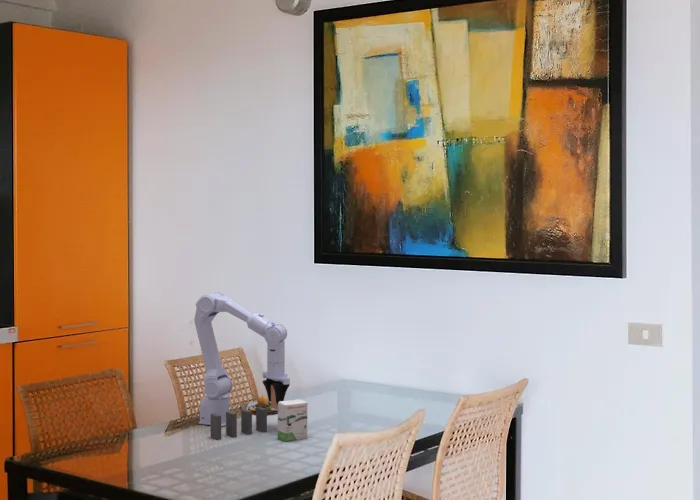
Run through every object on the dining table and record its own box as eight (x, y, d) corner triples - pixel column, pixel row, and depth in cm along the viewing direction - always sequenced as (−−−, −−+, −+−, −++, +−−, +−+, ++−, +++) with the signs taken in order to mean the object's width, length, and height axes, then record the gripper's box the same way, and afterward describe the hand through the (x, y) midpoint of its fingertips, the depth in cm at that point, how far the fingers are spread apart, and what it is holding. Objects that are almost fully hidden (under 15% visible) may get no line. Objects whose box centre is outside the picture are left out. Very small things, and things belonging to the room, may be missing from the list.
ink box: (284, 441, 294) (284, 404, 294) (276, 438, 299) (276, 401, 298) (308, 438, 299) (308, 401, 299) (300, 434, 303) (300, 398, 303)
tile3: (247, 435, 303) (247, 412, 302) (241, 432, 306) (241, 409, 306) (252, 434, 304) (252, 411, 303) (245, 431, 307) (245, 408, 307)
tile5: (216, 439, 297) (216, 416, 296) (210, 436, 300) (210, 413, 300) (221, 439, 298) (221, 415, 297) (215, 436, 301) (215, 413, 301)
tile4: (232, 437, 300) (232, 414, 299) (226, 434, 303) (226, 411, 303) (236, 436, 301) (236, 413, 300) (230, 433, 304) (230, 410, 304)
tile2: (262, 432, 306) (262, 409, 306) (256, 429, 310) (256, 407, 309) (266, 431, 307) (266, 409, 306) (260, 429, 310) (260, 406, 310)
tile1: (277, 409, 309) (277, 387, 308) (270, 407, 312) (270, 384, 312) (281, 409, 310) (281, 386, 309) (274, 406, 313) (274, 384, 313)
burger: (287, 411, 338) (287, 390, 337) (267, 417, 328) (267, 396, 327) (261, 407, 344) (261, 387, 344) (240, 413, 334) (240, 392, 334)
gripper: (297, 363, 306) (297, 405, 307) (275, 357, 318) (275, 397, 319) (279, 366, 302) (279, 407, 303) (257, 359, 314) (257, 399, 315)
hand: (276, 402), depth 311 cm, fingers closed on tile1, 4 cm apart
